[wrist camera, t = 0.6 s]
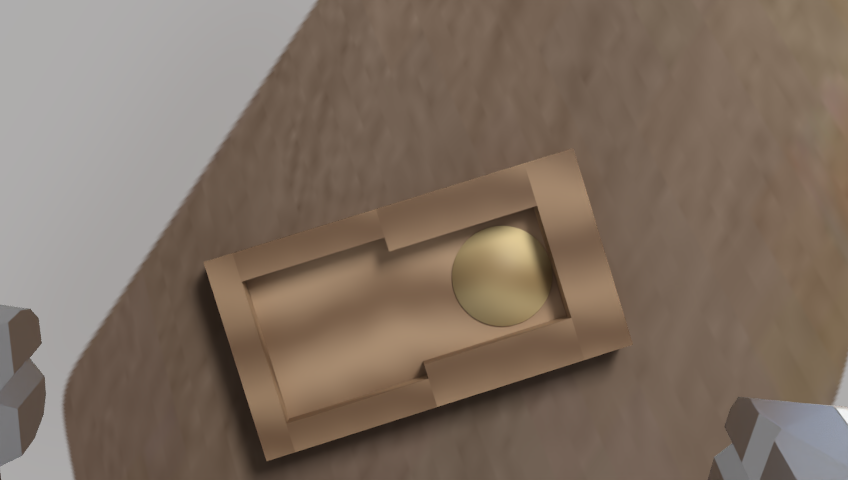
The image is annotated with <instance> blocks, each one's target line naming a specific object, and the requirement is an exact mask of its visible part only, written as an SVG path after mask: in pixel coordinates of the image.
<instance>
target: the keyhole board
mask: <svg viewBox="0 0 848 480" xmlns="http://www.w3.org/2000/svg"><path fill="white" fill-rule="evenodd" d="M204 265H205V269H206V272H207V275H208V278H209V281H210V284H211V287H212V291H213V294H214V297H215V300H216V303H217V306H218V310H219V313H220V316H221V319H222V322H223V325H224V329H225V332H226V335H227V338H228V341H229V344H230V347H231V351H232V354H233V357H234V360H235V363H236V366H237V370H238V373H239V376H240V379H241V382H242V385H243V389H244V392H245V395H246V398H247V401H248V404H249V407H250V411H251V414H252V417H253V420H254V423H255V426H256V430H257V433H258V436H259V439H260V442H261V445H262V449H263V452H264V455H265V458H266V461H269V460H273V459H276V458H279V457H282V456H285V455H288V454H291V453H295V452H298V451H301V450H304V449H307V448H310V447H313V446H317V445H320V444H323V443H326V442H329V441H332V440H335V439H338V438H342V437H345V436H348V435H351V434H354V433H357V432H360V431H364V430H367V429H370V428H373V427H376V426H379V425H382V424H386V423H389V422H392V421H395V420H398V419H401V418H404V417H407V416H411V415H414V414H417V413H420V412H423V411H426V410H429V409H433V408H436V407H439V406H442V405H445V404H448V403H451V402H455V401H458V400H461V399H464V398H467V397H470V396H473V395H476V394H480V393H483V392H486V391H489V390H492V389H495V388H498V387H502V386H505V385H508V384H511V383H514V382H517V381H520V380H524V379H527V378H530V377H533V376H536V375H539V374H542V373H545V372H549V371H552V370H555V369H558V368H561V367H564V366H567V365H571V364H574V363H577V362H580V361H583V360H586V359H589V358H593V357H596V356H599V355H602V354H605V353H608V352H611V351H614V350H618V349H621V348H624V347H627V346H630V345H633V343H632V340H631V337H630V333H629V330H628V327H627V323H626V320H625V317H624V314H623V310H622V307H621V304H620V300H619V297H618V294H617V290H616V287H615V284H614V281H613V277H612V274H611V271H610V267H609V264H608V261H607V258H606V254H605V251H604V248H603V244H602V241H601V238H600V234H599V231H598V228H597V225H596V221H595V218H594V215H593V211H592V208H591V205H590V202H589V198H588V195H587V192H586V188H585V185H584V182H583V179H582V175H581V172H580V169H579V165H578V162H577V159H576V155H575V152H574V149H573V148H572V149H569V150H566V151H562V152H559V153H556V154H553V155H549V156H546V157H543V158H540V159H536V160H533V161H530V162H527V163H523V164H520V165H517V166H514V167H510V168H507V169H504V170H501V171H497V172H494V173H491V174H488V175H484V176H481V177H478V178H475V179H472V180H468V181H465V182H462V183H459V184H455V185H452V186H449V187H446V188H442V189H439V190H436V191H433V192H429V193H426V194H423V195H420V196H416V197H413V198H410V199H407V200H403V201H400V202H397V203H394V204H390V205H387V206H384V207H381V208H377V209H374V210H371V211H368V212H364V213H361V214H358V215H355V216H351V217H348V218H345V219H342V220H338V221H335V222H332V223H329V224H326V225H322V226H319V227H316V228H313V229H309V230H306V231H303V232H300V233H296V234H293V235H290V236H287V237H283V238H280V239H277V240H274V241H270V242H267V243H264V244H261V245H257V246H254V247H251V248H248V249H244V250H241V251H238V252H235V253H231V254H228V255H225V256H222V257H218V258H215V259H212V260H209V261H205V262H204Z"/></svg>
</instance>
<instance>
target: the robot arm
mask: <svg viewBox="0 0 848 480" xmlns="http://www.w3.org/2000/svg"><path fill="white" fill-rule="evenodd" d="M41 343H42V342H41V334H40V326H39V319H38V317H37V316H36V315H35V314H34V313H33V312H32V310H31V309H27V308H20V307H12V306H6V305H0V466H2V465H4V464H6V463H8V462H10V461H12V460H14V459H16V458H18V457H20V456H22V455H23V454H24V452H25V451H26V449H27V448H28V447H29V445H30V444H31V442H32V441H33V440H34V438H35V436H36V433H37V430H38V428H39V425H40V422H41V420H42V417H43V413H44V405H45V396H46V391H45V377H44V375H43V374H42V373H41V371H40V370H39V369H38V368H37V366H36V365H35V364H34V363H33V362H32V360H31V359H30V357H31V356H32V355H33V353H34V352H35V351H36V350H37V348H38V347H39V346H40V345H41ZM724 427H725V429H726V431H727V433H728V435H729V437H730V439H731V441H732V444H731V445H730V446H728V447H727V448H726V449H724V450H723V451H722V452H720V453H719V454H718V455H717V456H715V457H714V460H713V463H712V467H711V470H710V474H709V477H708V480H848V407H842V406H830V405H818V404H807V403H797V402H787V401H776V400H766V399H756V398H744V397H738V398H737V400H736V401H735V403H734V404H733V406H732V407H731V409H730V411H729V414H728V417H727V420H726V423H725V426H724ZM0 480H1V475H0Z"/></svg>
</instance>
